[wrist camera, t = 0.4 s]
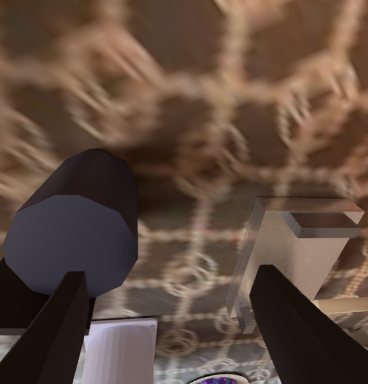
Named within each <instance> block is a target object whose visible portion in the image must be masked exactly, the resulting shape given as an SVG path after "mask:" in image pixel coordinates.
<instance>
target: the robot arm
mask: <svg viewBox="0 0 368 384" xmlns="http://www.w3.org/2000/svg"><path fill="white" fill-rule="evenodd" d="M249 298H250V302H251V306H252V309H253V313H254V316H255V319H256V322H257V325H258V327H259V330H260V332H261V334H262V337H263V339H264V342H265V344H266V347H267V349H268V351H269V354H270V356H271V359H272V361H273V363H274V366H275V368H276V371H277V373H278V375H279V378H280V381H281V383H282V384H368V350H367V349H366V348H364V347H363V346H362V345H361V344H359V343H358V342H357V341H356V340H354V339H353V338H352V337H351V336H349V335H348V334H347V333H346V332H345V331H343V330H342V329H341V328H340V327H339V326H338V325H337V324H335V323H334V322H333V321H332V320H331V319H330V318H329V317H327V316H326V315H325V314H324V313H323V312H322V311H321V310H320V309H319V308H318V307H316V306H315V305H314V304H313V303H312V302H311V301H310V300H309V299H308V298H307V297H306V296H305V295H304V294H303V293H302V292H301V291H300V290H299V289H298V288H297V287H296V286H295V285H294V284H293V283H292V282H290V281H289V280H288V279H287V278H286V277H285V276H284V275H283V274H282V273H281V272H280V271H279V270H278V269H277V268H276V267H275V266H274V265H273V264H267V265H259V268H258V271H257V274H256V277H255V279H254V282H253V285H252V288H251V291H250V294H249ZM89 305H90V304H89V297H88V290H87V283H86V276H85V271H68V272H67V273H66V274H65V275H64V276H63V278H62V280H61V281H60V283H59V284H58V286H57V287H56V289H55V290H54V292H53V293H52V295H51V296H50V298H49V299H48V301H47V302H46V304H45V305H44V306H43V308H42V309H41V310H40V312H39V313H38V315H37V316H36V317H35V319H34V320H33V321H32V323H31V324H30V325H29V327H28V328H27V329H26V331H25V332H24V333H23V334H22V336H21V337H20V338H19V339H18V341H17V342H16V343H15V344H14V346H13V347H12V348H11V349H10V351H9V352H8V353H7V354H6V356H5V357H4V358H3V359H2V360H1V362H0V384H72V383H73V379H74V375H75V371H76V367H77V364H78V360H79V356H80V352H81V348H82V344H83V340H84V343H85V348H86V360H85V365H84V371H83V376H82V382H81V384H154V380H153V362H154V354H155V344H156V333H157V319H156V318H139V319H123V320H107V321H91V326H90V331H89V336H85V332H86V326H87V319H88V312H89Z"/></svg>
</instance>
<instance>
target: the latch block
mask: <svg viewBox="0 0 368 384" xmlns="http://www.w3.org/2000/svg"><path fill="white" fill-rule="evenodd" d="M363 214H364V211H363V210H362V209H361V208H359V207H358V206H357V205H355V204H354V203H353V202H352V201H350V200H349V199H325V198H282V197H256V199H255V203H254V206H253V209H252V213H251V216H250V219H249V223H248V226H247V229H246V232H245V236H244V239H243V242H242V246H241V249H240V252H239V255H238V259H237V262H236V265H235V269H234V272H233V275H232V278H231V282H230V285H229V288H228V292H227V295H226V298H225V304H226V307H227V310H228V313H229V317H237V318H238V321H239V324H240V327H241V330H242V333H243V334H252V333H253V330H254V328H255V326H256V325H255V322H254V320H253V317H252V314H251V311H253V309H252V306H251V302H250V298H249V294H250V291H251V288H252V285H253V282H254V279H255V277H256V274H257V271H258V268H259V265H267V264H273V265H274V266H275V267H276V268H277V269H278V270H279V271H280V272H281V273H282V274H283V275H284V276H285V277H286V278H287V279H288V280H289V281H290V282H292V283H293V284H294V285H295V286H296V287H297V288H298V289H299V290H300V291H301V292H302V293H303V294H304V295H305V296H306V297H307V298H308V299H309V300H310V301H313V299H314V298H315V296H316V294H317V292H318V291H319V289H320V287H321V286H322V284H323V282H324V281H325V279H326V277H327V275H328V274H329V272H330V270H331V269H332V267H333V265H334V264H335V262H336V260H337V258H338V257H339V255H340V253H341V252H342V250H343V248H344V246H345V245H346V243H347V241H348V240H349V238H355V237H356V236H357V234H358V232H359V231H360V229H361V227H359V226H358V225H357V224H358V223H359V221H360V219H361V218H362V216H363Z"/></svg>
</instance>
